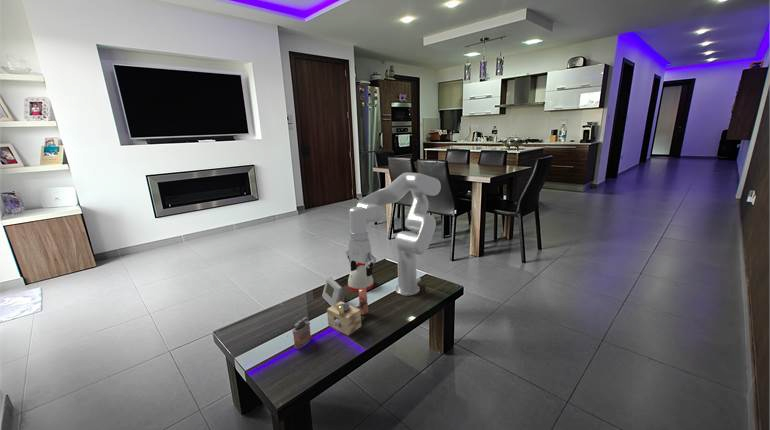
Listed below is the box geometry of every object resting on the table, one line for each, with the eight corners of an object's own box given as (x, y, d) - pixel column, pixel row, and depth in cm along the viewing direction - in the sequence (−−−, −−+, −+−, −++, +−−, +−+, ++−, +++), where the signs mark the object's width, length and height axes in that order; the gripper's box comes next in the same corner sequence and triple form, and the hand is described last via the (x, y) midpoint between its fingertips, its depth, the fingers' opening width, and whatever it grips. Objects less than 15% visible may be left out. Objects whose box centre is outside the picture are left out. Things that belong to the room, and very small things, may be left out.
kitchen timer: (343, 284, 176) (341, 259, 172) (364, 277, 183) (363, 253, 180) (356, 294, 165) (355, 267, 161) (378, 286, 173) (377, 260, 169)
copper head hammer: (363, 309, 148) (362, 287, 146) (369, 312, 146) (368, 289, 143) (333, 329, 134) (331, 304, 132) (339, 332, 132) (336, 307, 129)
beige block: (342, 317, 144) (340, 301, 142) (361, 326, 136) (360, 309, 134) (328, 325, 138) (327, 308, 136) (347, 335, 130) (346, 318, 128)
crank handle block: (349, 305, 138) (349, 294, 136) (347, 318, 128) (347, 307, 126) (338, 305, 138) (337, 295, 136) (335, 319, 127) (334, 308, 126)
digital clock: (321, 296, 163) (320, 277, 161) (339, 293, 166) (337, 274, 164) (328, 312, 148) (326, 291, 146) (347, 308, 152) (345, 287, 149)
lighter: (298, 350, 123) (295, 327, 120) (292, 347, 124) (289, 324, 122) (313, 338, 129) (311, 316, 127) (307, 336, 131) (305, 314, 129)
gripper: (339, 234, 140) (341, 271, 144) (368, 241, 129) (370, 280, 133) (351, 230, 145) (353, 265, 149) (380, 236, 134) (382, 274, 139)
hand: (361, 272), depth 141 cm, fingers open, 9 cm apart
